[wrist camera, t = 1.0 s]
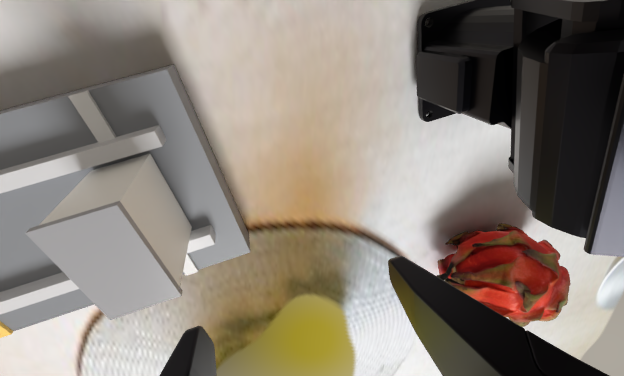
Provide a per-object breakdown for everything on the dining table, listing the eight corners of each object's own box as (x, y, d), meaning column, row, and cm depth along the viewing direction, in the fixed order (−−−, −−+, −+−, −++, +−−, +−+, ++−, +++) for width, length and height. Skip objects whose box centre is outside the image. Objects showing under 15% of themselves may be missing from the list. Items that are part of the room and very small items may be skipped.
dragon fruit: (506, 243, 32) (406, 232, 30) (586, 217, 25) (461, 199, 23) (529, 329, 28) (416, 322, 26) (632, 328, 21) (486, 318, 19)
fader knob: (151, 150, 15) (116, 204, 11) (194, 227, 18) (181, 295, 13) (87, 169, 15) (25, 233, 10) (141, 244, 17) (110, 320, 13)
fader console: (174, 64, 15) (162, 72, 13) (248, 234, 22) (251, 262, 19) (-306, 191, 13) (-432, 231, 11) (-69, 338, 20) (-114, 385, 17)
